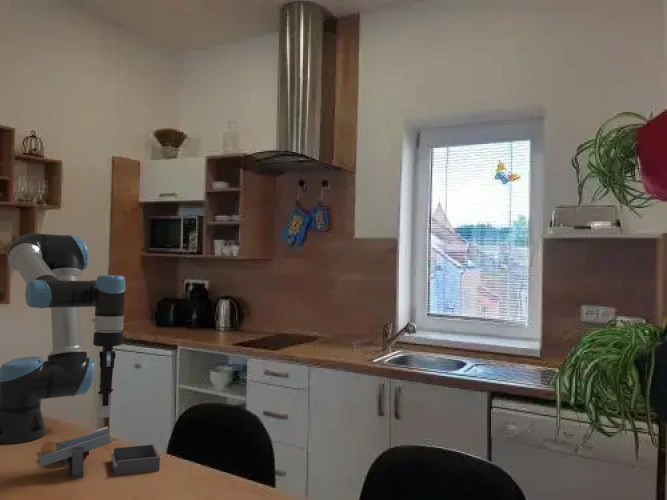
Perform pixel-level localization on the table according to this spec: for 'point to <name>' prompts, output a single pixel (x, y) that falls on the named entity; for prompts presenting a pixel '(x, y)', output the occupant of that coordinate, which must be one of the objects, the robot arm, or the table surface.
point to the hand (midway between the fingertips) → (104, 416)
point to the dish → (135, 459)
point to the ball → (48, 448)
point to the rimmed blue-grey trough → (76, 446)
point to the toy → (69, 460)
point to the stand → (77, 463)
